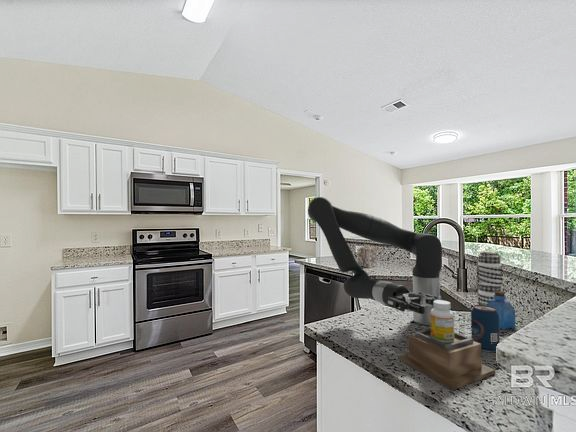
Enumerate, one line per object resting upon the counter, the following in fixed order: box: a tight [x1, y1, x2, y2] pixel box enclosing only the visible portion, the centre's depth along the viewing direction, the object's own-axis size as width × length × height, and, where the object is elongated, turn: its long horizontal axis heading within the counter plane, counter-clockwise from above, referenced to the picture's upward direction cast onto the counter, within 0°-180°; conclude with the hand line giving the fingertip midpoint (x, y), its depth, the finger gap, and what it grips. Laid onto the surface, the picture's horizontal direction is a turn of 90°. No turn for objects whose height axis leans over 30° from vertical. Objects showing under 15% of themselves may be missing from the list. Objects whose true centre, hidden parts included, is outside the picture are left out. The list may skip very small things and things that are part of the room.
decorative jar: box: [357, 244, 378, 268], centre depth 239 cm, size 12×12×18 cm
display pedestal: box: [397, 327, 496, 391], centre depth 74 cm, size 16×16×8 cm
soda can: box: [470, 304, 501, 353], centre depth 85 cm, size 7×7×12 cm
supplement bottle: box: [430, 299, 455, 343], centre depth 75 cm, size 5×5×10 cm
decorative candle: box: [476, 250, 504, 306], centre depth 118 cm, size 9×9×25 cm
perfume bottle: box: [487, 290, 516, 330], centre depth 103 cm, size 6×6×12 cm
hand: (434, 308), depth 77 cm, fingers open, 8 cm apart
